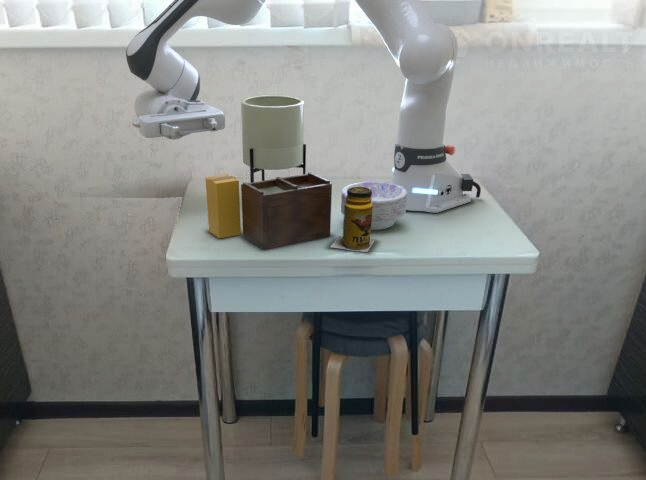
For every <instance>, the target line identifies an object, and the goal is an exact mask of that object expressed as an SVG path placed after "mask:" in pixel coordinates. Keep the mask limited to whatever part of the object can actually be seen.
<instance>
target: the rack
mask: <svg viewBox="0 0 646 480" xmlns="http://www.w3.org/2000/svg"><path fill="white" fill-rule="evenodd" d="M240 192H241V193H240V194H241V218H242V219H241V220H242V237H243V238H244V239H246V240H247V241H248V242H251V243H252V244H254V245H255V246H257V247H258V248H260V249H261V250H269V249H274V248H279V247H283V246H289V245H292V244H299V243H303V242H309V241H312V240H316V239H323V238H327V237H331V223H332V221H331V220H332V196H333V193H332V192H333V184H332V183H331V180H329V179H328V178H325V177H323V176H320V175H318V174H316V173H313V172H311V171H310V172H307V173H306V174H303V173H302V174H297V175H291V176H285V177H279V176H277V177H275V178H272V179H266V180H265V181H262V180H260V181H254V182H252V183H251V182H242V183H241V184H240Z"/></svg>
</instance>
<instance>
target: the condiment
mask: <svg viewBox="0 0 646 480" xmlns="http://www.w3.org/2000/svg"><path fill="white" fill-rule="evenodd" d="M371 196H372V191H371V190H370V189H368V188H365V187H352V188H349V189H348V190H347V197H346V202H345V207H344V214H343V227H342V228H343V230H342V235H337V237H336V239H335V240H334V241H333V243H332V244H331V245H330V246H329V248H331V249H333V248H334V249H340V250H347V251H354V252H362V253H363V252H364V253H368V252H369V251H370V249H371V248H372V247H373V245H374V243H375V240H374V239H371V235H372V234H371V233H372V230H371V222H372V210H373V204H372V202H371V200H372V198H371Z"/></svg>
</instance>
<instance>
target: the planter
mask: <svg viewBox="0 0 646 480" xmlns="http://www.w3.org/2000/svg"><path fill="white" fill-rule="evenodd" d="M240 112H241V116H240V117H241V140H242V141H241V142H242V144H241V145H242V162H243V164H244V165H245V166H248V167H249V177H250V179H249V180H250V183H252V182H255V173H258V172H261V181H265V178H266V177H265V171H266V170H268V171H279V170H280V171H281V170H288V169H293V168H295V169H296V168H298V169H302V175H303V174H307V172H306V171H307V170H306V169H307V144H306V143H305V142H304V141H305V101H304V100H303V99H302V98H299V97H297V96H296V97H295V96H290V95H281V94H280V95H279V94H277V95H276V94H274V95H273V94H268V95H267V94H265V95H254V96H248V97H245V98H243V99H241V101H240Z"/></svg>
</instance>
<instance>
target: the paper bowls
mask: <svg viewBox="0 0 646 480" xmlns="http://www.w3.org/2000/svg"><path fill="white" fill-rule="evenodd" d="M352 187H365V188H368V189H370V190H371V191H372V196H371V198H372V200H371V202H372V204H373V210H372V222H371V231H380V230H386V229H389V228H390V227H392V226H394V224H395V223H396V221H397V219H400V218H402V217H403V216H404V215H405V214H406V211H407V210H406V203H407V191H406V189H405V188H403V187H401V186H399V185H396V184H392V183H391V182H385V181H360V182H355V183H351V184H348V185H345V186H344V187H343V188H342V190H341V196H340V197H341V200H340V201H341V203H340V212H341V213H342V215H344V207H345V202H346V197H347V190H348V189H349V188H352Z"/></svg>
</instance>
